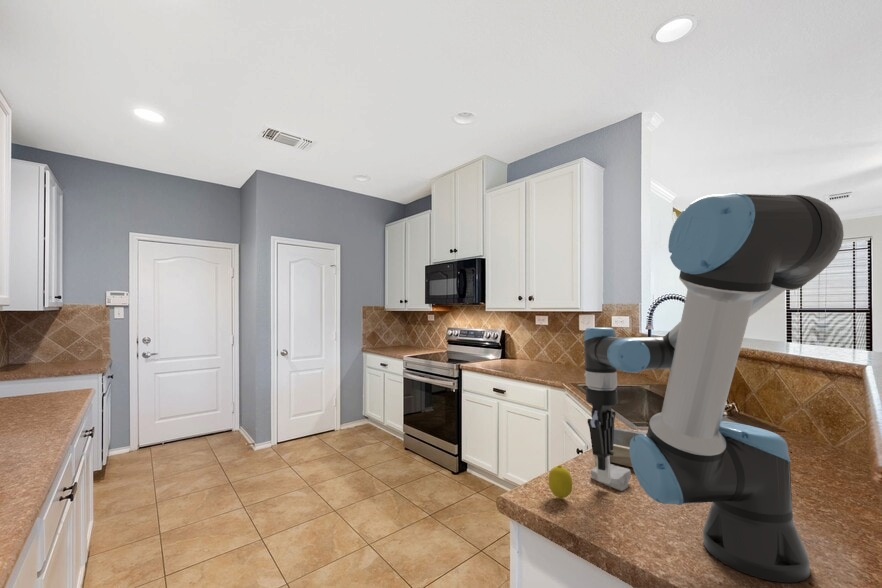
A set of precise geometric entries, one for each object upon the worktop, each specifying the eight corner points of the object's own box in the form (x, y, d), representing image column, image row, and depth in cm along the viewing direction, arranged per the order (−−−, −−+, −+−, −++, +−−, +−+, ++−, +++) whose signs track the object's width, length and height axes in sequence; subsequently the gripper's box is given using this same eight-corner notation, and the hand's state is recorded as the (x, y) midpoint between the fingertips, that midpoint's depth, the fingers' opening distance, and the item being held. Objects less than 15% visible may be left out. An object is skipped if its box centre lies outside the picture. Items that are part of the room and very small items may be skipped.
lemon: (562, 492, 97) (561, 459, 97) (577, 502, 92) (576, 467, 92) (544, 496, 95) (543, 463, 95) (558, 506, 90) (557, 471, 90)
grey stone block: (594, 491, 105) (584, 470, 106) (608, 480, 108) (598, 459, 109) (624, 494, 96) (613, 471, 97) (638, 481, 100) (627, 459, 101)
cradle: (649, 481, 102) (648, 461, 102) (594, 467, 111) (594, 449, 112) (658, 471, 108) (657, 453, 108) (605, 458, 118) (605, 442, 118)
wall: (667, 467, 112) (666, 438, 112) (610, 454, 123) (609, 428, 123) (669, 465, 113) (667, 437, 114) (612, 452, 124) (611, 427, 124)
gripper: (596, 382, 107) (599, 469, 105) (576, 389, 97) (578, 485, 96) (625, 385, 101) (628, 477, 100) (606, 393, 92) (609, 495, 91)
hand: (604, 481), depth 98 cm, fingers closed
